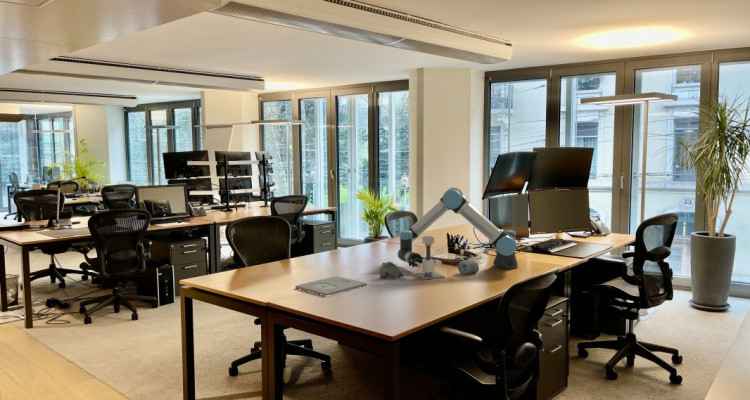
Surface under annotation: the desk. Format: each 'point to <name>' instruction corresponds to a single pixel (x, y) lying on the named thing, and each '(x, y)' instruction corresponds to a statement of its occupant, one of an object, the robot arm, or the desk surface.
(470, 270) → the grey oval lump
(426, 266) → the sleeve
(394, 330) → the desk surface
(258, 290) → the desk surface
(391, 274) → the mineral rock
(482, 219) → the robot arm
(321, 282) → the award plaque
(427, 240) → the stand
